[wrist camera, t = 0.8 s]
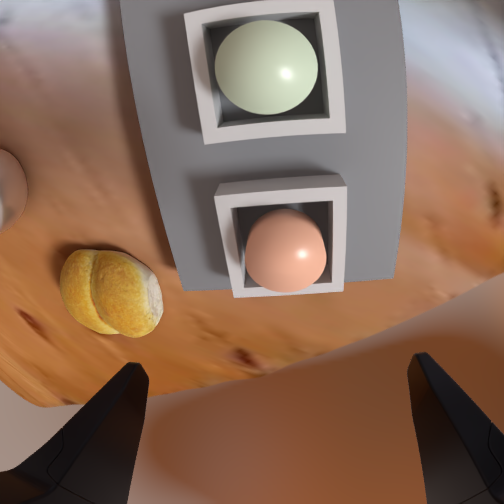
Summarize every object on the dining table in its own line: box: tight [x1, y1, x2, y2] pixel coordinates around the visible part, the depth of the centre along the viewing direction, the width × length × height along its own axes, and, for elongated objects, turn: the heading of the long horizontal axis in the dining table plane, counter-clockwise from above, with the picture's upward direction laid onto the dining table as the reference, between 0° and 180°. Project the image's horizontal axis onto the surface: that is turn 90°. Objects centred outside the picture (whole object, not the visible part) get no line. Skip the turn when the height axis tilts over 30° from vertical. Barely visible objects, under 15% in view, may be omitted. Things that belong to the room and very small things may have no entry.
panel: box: [120, 0, 407, 298], centre depth 13 cm, size 14×26×4 cm, turn 7°
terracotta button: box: [245, 209, 326, 292], centre depth 16 cm, size 4×4×2 cm
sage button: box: [215, 20, 318, 114], centre depth 11 cm, size 4×4×2 cm
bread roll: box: [60, 249, 163, 338], centre depth 22 cm, size 8×9×4 cm
